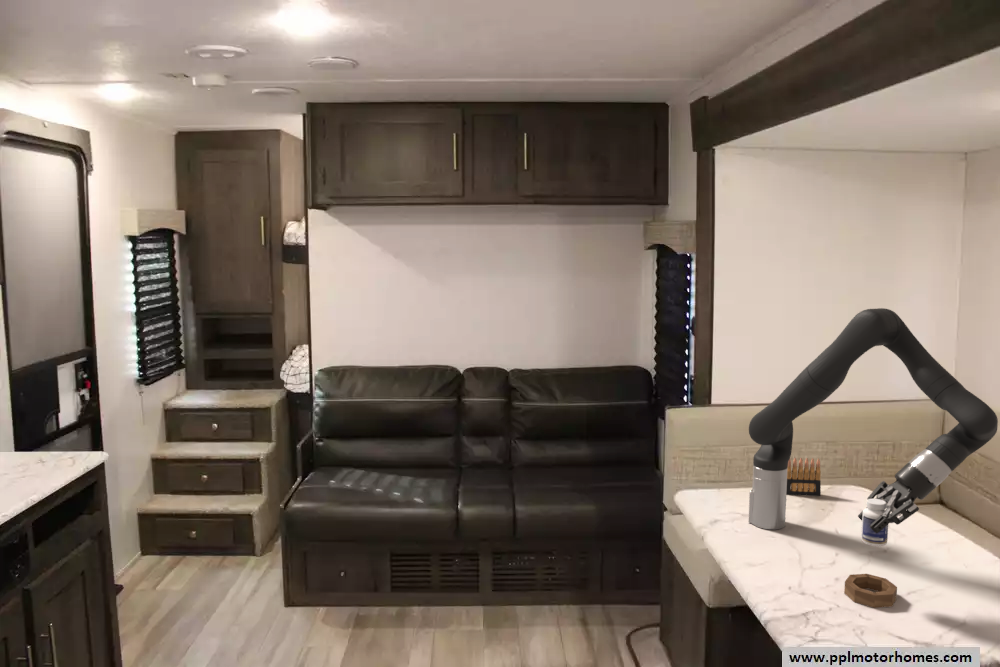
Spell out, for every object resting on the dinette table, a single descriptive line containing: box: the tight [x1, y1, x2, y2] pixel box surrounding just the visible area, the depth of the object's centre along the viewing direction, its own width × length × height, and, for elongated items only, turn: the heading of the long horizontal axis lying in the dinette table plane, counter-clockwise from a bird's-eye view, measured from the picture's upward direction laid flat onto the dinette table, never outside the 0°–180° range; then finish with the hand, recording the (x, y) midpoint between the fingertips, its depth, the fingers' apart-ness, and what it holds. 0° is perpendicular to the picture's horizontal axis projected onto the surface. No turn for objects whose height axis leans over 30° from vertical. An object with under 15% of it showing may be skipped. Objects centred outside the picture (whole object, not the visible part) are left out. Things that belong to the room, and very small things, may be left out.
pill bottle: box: [860, 498, 889, 547], centre depth 176 cm, size 5×5×10 cm
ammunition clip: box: [786, 457, 822, 497], centre depth 243 cm, size 11×2×12 cm, turn 81°
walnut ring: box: [843, 573, 898, 609], centre depth 178 cm, size 10×10×3 cm
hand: (867, 524), depth 176 cm, fingers closed on pill bottle, 5 cm apart
